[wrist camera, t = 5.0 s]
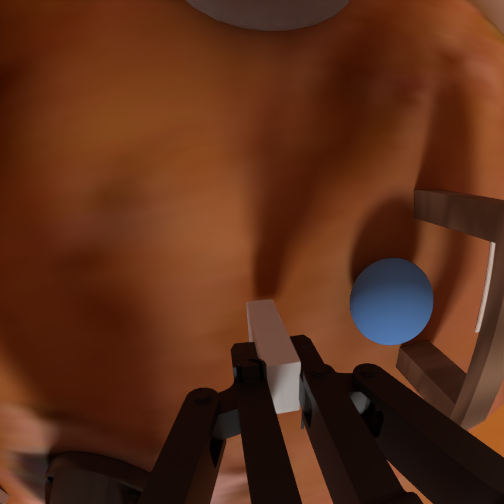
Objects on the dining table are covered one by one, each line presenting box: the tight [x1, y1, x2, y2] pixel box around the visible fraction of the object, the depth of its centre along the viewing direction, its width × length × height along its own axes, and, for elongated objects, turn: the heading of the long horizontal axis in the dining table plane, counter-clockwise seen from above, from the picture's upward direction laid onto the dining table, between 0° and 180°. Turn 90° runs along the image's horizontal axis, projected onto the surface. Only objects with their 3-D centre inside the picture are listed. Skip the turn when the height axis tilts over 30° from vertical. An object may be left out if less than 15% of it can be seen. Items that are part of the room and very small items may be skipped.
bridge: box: [396, 190, 504, 430], centre depth 17 cm, size 14×3×9 cm, turn 3°
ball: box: [350, 258, 433, 345], centre depth 18 cm, size 6×6×6 cm
